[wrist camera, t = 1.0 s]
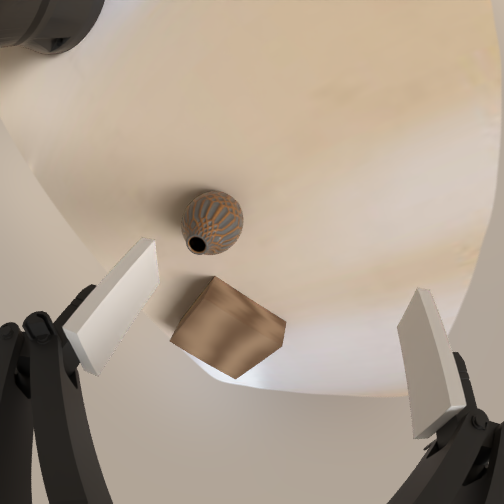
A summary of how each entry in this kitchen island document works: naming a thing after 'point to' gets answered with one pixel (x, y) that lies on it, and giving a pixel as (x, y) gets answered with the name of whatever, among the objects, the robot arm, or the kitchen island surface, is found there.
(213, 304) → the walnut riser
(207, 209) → the vase
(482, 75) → the kitchen island surface
